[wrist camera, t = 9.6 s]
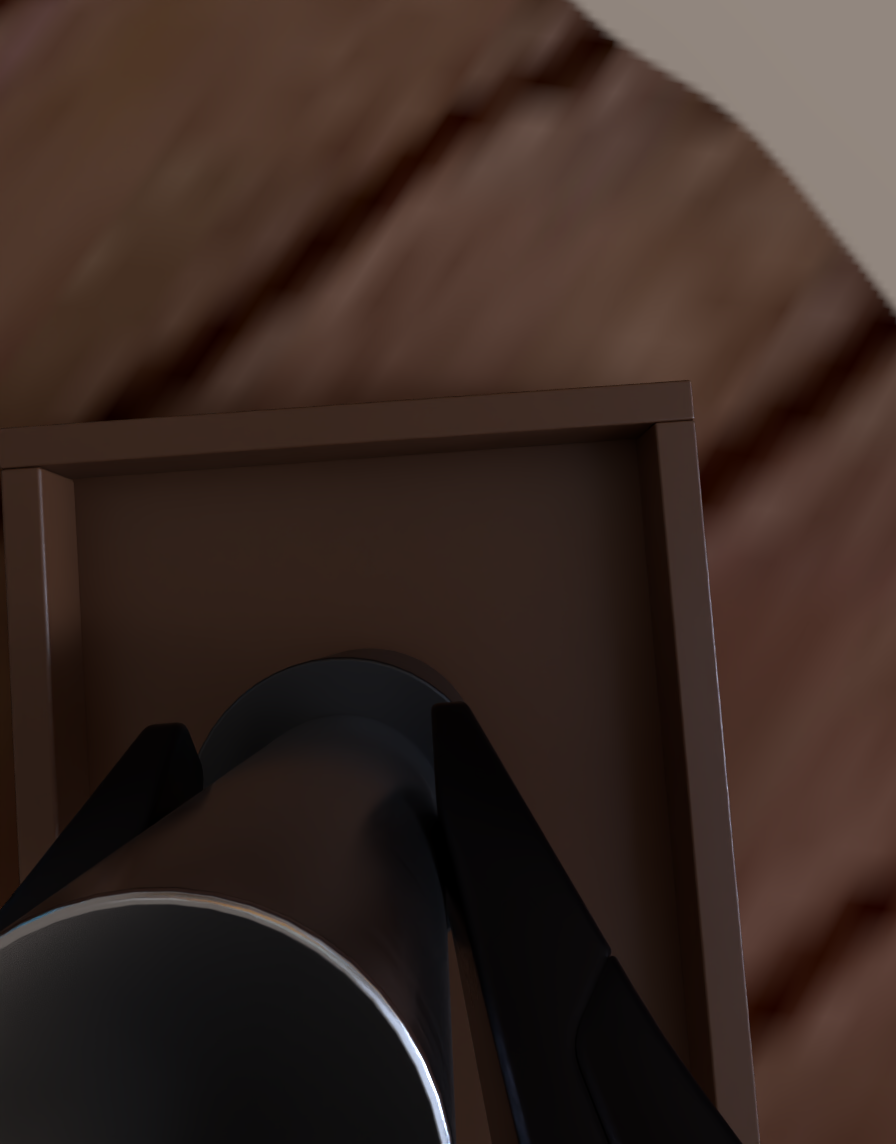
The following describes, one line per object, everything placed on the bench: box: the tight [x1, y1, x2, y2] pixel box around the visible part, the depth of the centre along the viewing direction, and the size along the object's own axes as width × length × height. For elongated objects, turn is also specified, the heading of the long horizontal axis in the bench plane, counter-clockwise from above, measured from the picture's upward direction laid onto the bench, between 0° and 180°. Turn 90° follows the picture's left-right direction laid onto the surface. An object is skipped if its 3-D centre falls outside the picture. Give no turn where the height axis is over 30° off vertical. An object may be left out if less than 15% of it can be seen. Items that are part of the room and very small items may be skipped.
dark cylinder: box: [0, 649, 464, 1144], centre depth 10 cm, size 4×4×13 cm
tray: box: [0, 380, 760, 1144], centre depth 17 cm, size 20×14×2 cm
